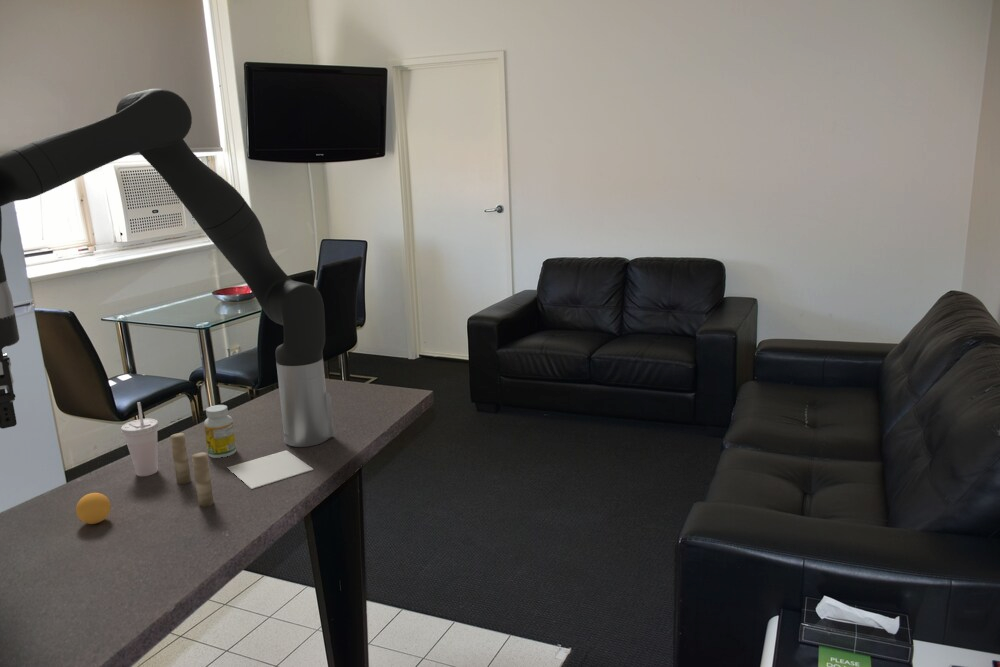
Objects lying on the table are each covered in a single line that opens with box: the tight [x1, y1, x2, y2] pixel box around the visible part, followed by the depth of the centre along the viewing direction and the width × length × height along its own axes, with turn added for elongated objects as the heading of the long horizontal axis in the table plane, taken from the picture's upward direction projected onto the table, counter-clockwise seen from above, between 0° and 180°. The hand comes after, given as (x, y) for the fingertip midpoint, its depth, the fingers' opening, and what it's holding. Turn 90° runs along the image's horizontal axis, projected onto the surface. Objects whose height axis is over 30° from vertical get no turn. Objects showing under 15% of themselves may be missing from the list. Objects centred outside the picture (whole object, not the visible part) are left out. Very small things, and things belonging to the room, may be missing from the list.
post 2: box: [191, 451, 215, 508], centre depth 128 cm, size 2×2×9 cm
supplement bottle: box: [203, 404, 237, 459], centre depth 149 cm, size 5×5×10 cm
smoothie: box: [120, 401, 160, 477], centre depth 141 cm, size 6×6×14 cm
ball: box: [75, 492, 112, 525], centre depth 123 cm, size 5×5×5 cm
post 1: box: [169, 432, 192, 485], centre depth 137 cm, size 2×2×9 cm
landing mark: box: [226, 450, 314, 490], centre depth 142 cm, size 12×12×1 cm
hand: (4, 419), depth 113 cm, fingers open, 8 cm apart
